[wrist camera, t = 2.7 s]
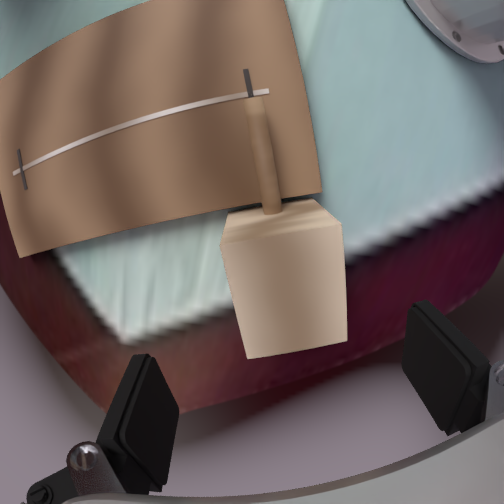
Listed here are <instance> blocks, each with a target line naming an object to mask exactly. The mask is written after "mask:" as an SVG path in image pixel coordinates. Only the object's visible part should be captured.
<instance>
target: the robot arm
mask: <svg viewBox="0 0 504 504" xmlns="http://www.w3.org/2000/svg"><path fill="white" fill-rule="evenodd" d="M406 2H407V3H408V5H409V6H410V8H411V9H412V10H413V11H414V12H415V14H416V15H417V16H418V17H419V19H420V20H421V21H422V22H423V23H424V24H425V25H426V26H427V27H428V28H429V29H430V30H431V31H432V33H433V34H435V35H436V36H437V37H438V38H439V39H440V40H441V41H443V42H444V43H445V44H446V45H447V46H449V47H450V48H452V49H453V50H454V51H456V52H457V53H459V54H460V55H462V56H464V57H466V58H468V59H470V60H473V61H475V62H478V63H486V64H489V63H496V62H499V61H502V60H504V0H406ZM402 369H403V371H404V373H405V374H406V376H407V377H408V379H409V381H410V382H411V384H412V385H413V387H414V388H415V390H416V392H417V393H418V395H419V396H420V398H421V400H422V401H423V403H424V404H425V406H426V408H427V409H428V411H429V413H430V414H431V416H432V418H433V419H434V421H435V423H436V424H437V426H438V428H439V429H440V430H441V431H443V430H444V431H445V433H446V434H447V436H449V435H451V434H453V433H455V432H457V431H459V430H460V432H461V434H459V435H457V436H455V437H453V438H451V439H449V440H447V441H445V442H443V443H440V444H439V445H436V446H434V447H432V448H430V449H427V450H425V451H423V452H420V453H418V454H416V455H413V456H411V457H408V458H406V459H403V460H400V461H398V462H395V463H393V464H390V465H387V466H384V467H381V468H378V469H375V470H372V471H369V472H365V473H362V474H358V475H355V476H351V477H348V478H344V479H340V480H336V481H332V482H328V483H323V484H319V485H314V486H309V487H304V488H298V489H292V490H287V491H279V492H272V493H263V494H254V495H243V496H225V497H172V496H153V495H149V491H154V492H162V486H163V485H165V484H166V483H167V479H168V473H169V467H170V462H171V456H172V450H173V444H174V439H175V434H176V427H177V422H178V418H179V407H178V405H177V403H176V401H175V399H174V397H173V395H172V393H171V391H170V389H169V387H168V385H167V383H166V381H165V378H164V376H163V374H162V372H161V370H160V368H159V366H158V363H157V361H156V359H155V358H154V357H151V356H150V355H149V354H138V355H133V356H132V358H131V360H130V362H129V365H128V367H127V369H126V371H125V373H124V376H123V378H122V380H121V382H120V385H119V387H118V389H117V391H116V394H115V396H114V398H113V401H112V403H111V405H110V408H109V410H108V413H107V415H106V418H105V420H104V422H103V425H102V427H101V430H100V432H99V435H98V438H97V440H96V443H94V442H90V441H87V442H82V443H79V444H77V445H75V446H74V447H73V448H72V449H71V450H70V451H69V453H68V455H67V459H66V462H67V467H65V468H64V469H62V470H60V471H58V472H56V473H54V474H52V475H50V476H48V477H46V478H44V479H43V480H41V481H39V482H37V483H35V484H33V485H32V486H31V487H30V489H29V490H28V493H27V503H26V504H504V360H503V361H499V362H497V363H495V364H494V365H493V366H491V365H490V364H489V360H488V359H487V358H486V357H485V356H484V355H483V354H482V353H481V352H480V351H479V350H478V349H477V348H476V347H475V345H474V344H473V343H472V342H470V341H469V339H468V338H467V337H465V335H463V334H462V332H461V331H459V330H458V329H457V328H456V327H455V326H454V325H453V324H452V323H451V322H450V321H449V320H448V319H447V318H446V317H445V316H444V315H443V314H442V313H441V312H440V311H439V310H438V309H436V308H435V307H434V306H433V305H432V304H431V303H430V302H429V301H428V300H423V301H420V302H416V303H413V304H412V306H411V308H410V309H409V310H408V314H407V324H406V334H405V343H404V350H403V357H402ZM21 504H25V503H24V502H22V503H21Z"/></svg>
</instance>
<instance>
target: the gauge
mask: <svg viewBox="0 0 504 504" xmlns="http://www.w3.org/2000/svg"><path fill="white" fill-rule="evenodd" d="M243 105H244V110H245V115H246V121H247V126H248V131H249V136H250V141H251V147H252V152H253V157H254V163H255V168H256V174H257V179H258V185H259V190H260V196H261V201H262V206H258V207H253V208H247V209H242V210H236V211H231V212H228V216H227V219H226V223H225V227H224V231H223V234H222V238H221V242H220V249H221V253H222V258H223V262H224V266H225V270H226V275H227V279H228V283H229V287H230V291H231V295H232V299H233V304H234V308H235V312H236V316H237V320H238V324H239V328H240V332H241V336H242V339H243V343H244V347H245V351H246V355H247V359H252V358H259V357H265V356H272V355H278V354H284V353H289V352H295V351H300V350H306V349H311V348H316V347H321V346H326V345H330V344H335V343H339V342H344V341H347V305H346V280H345V262H344V247H343V234H342V224H341V223H340V222H339V221H338V220H337V219H335V218H334V217H333V216H332V215H331V214H330V213H329V212H328V211H326V210H325V209H324V208H323V207H322V206H321V205H320V204H318V203H317V202H316V201H315V200H314V199H313V198H305V199H299V200H293V201H287V202H281V197H280V191H279V185H278V179H277V173H276V168H275V162H274V156H273V151H272V145H271V139H270V134H269V129H268V123H267V118H266V113H265V108H264V103H263V97H252V98H248V99H244V100H243Z"/></svg>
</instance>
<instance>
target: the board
mask: <svg viewBox="0 0 504 504" xmlns="http://www.w3.org/2000/svg"><path fill="white" fill-rule="evenodd" d="M252 97H263V103H264V108H265V113H266V118H267V123H268V129H269V134H270V139H271V145H272V151H273V156H274V162H275V168H276V173H277V179H278V185H279V191H280V197H281V199H283V198H289V197H295V196H301V195H307V194H314V193H320V192H322V186H321V179H320V172H319V165H318V158H317V152H316V145H315V139H314V133H313V128H312V122H311V116H310V111H309V106H308V100H307V95H306V90H305V85H304V81H303V76H302V71H301V67H300V62H299V58H298V53H297V49H296V45H295V41H294V37H293V33H292V29H291V25H290V21H289V17H288V14H287V10H286V6H285V3H284V0H150V1H147V2H144V3H142V4H139V5H136V6H133V7H130V8H128V9H125V10H123V11H120V12H118V13H115V14H113V15H110V16H108V17H106V18H103V19H101V20H99V21H97V22H94V23H92V24H90V25H88V26H86V27H84V28H82V29H80V30H78V31H76V32H74V33H72V34H70V35H68V36H67V37H65V38H63V39H61V40H59V41H58V42H56V43H54V44H52V45H51V46H49V47H47V48H46V49H44V50H42V51H41V52H39V53H38V54H36V55H34V56H33V57H31V58H30V59H28V60H27V61H25V62H24V63H22V64H21V65H19V66H18V67H17V68H15V69H14V70H12V71H11V72H10V73H8V74H7V75H6V76H4V77H3V78H2V79H0V191H1V195H2V200H3V204H4V208H5V211H6V215H7V219H8V222H9V226H10V229H11V233H12V236H13V239H14V242H15V245H16V248H17V251H18V254H19V257H20V258H21V257H25V256H28V255H32V254H35V253H39V252H42V251H46V250H49V249H53V248H57V247H60V246H64V245H68V244H72V243H76V242H79V241H83V240H87V239H91V238H95V237H99V236H103V235H107V234H111V233H116V232H120V231H124V230H128V229H132V228H137V227H141V226H146V225H150V224H154V223H159V222H164V221H168V220H173V219H177V218H182V217H187V216H192V215H197V214H202V213H207V212H212V211H217V210H222V209H227V208H232V207H238V206H243V205H249V204H254V203H260V202H262V201H261V196H260V190H259V185H258V179H257V174H256V168H255V163H254V157H253V152H252V147H251V141H250V136H249V131H248V126H247V121H246V115H245V110H244V105H243V100H244V99H248V98H252Z"/></svg>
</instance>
